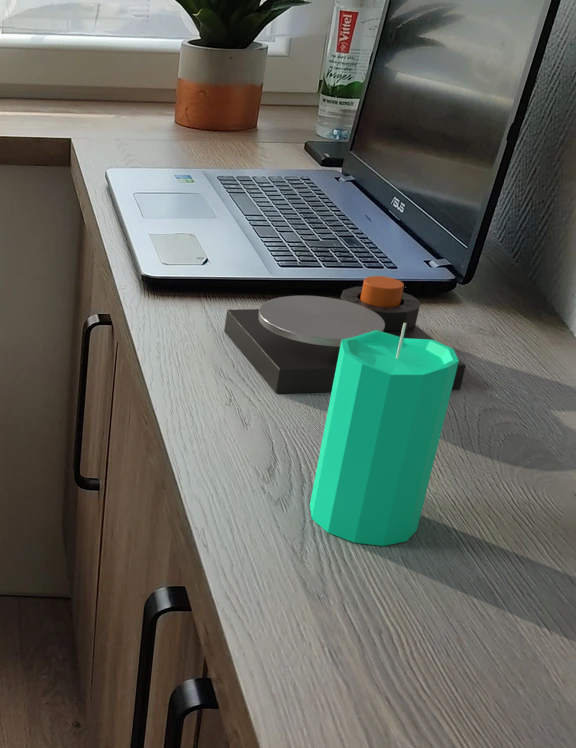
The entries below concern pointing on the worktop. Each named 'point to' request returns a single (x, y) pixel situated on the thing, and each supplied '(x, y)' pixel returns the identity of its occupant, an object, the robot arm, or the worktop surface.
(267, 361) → the scale
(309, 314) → the weighing pan
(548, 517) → the worktop surface
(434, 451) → the candle
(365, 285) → the tare button
